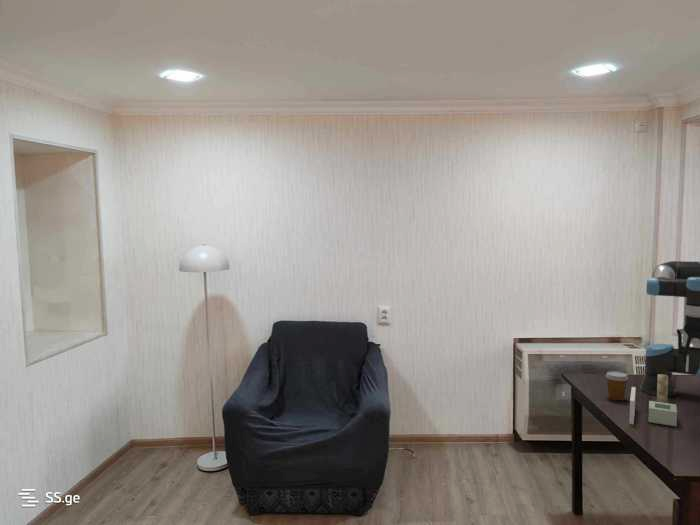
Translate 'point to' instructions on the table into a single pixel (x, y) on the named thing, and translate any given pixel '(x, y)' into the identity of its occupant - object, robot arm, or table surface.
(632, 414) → the pale wall board
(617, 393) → the disposable coffee cup
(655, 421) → the sage green block
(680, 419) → the table surface
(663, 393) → the birch dowel
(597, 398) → the table surface
